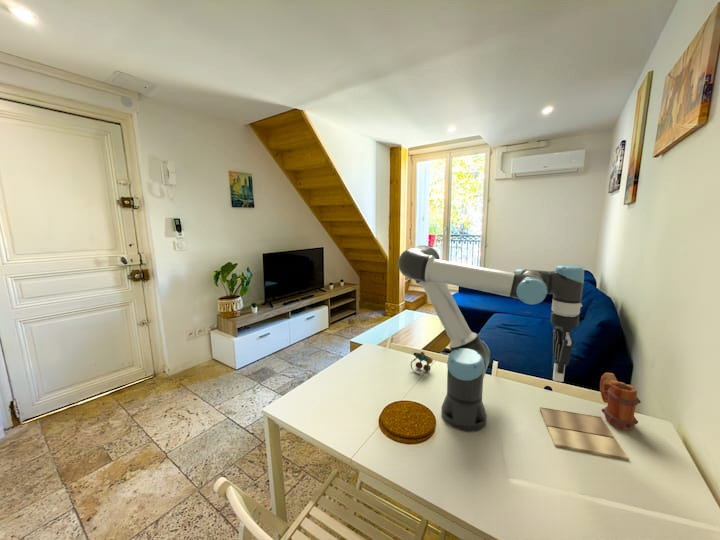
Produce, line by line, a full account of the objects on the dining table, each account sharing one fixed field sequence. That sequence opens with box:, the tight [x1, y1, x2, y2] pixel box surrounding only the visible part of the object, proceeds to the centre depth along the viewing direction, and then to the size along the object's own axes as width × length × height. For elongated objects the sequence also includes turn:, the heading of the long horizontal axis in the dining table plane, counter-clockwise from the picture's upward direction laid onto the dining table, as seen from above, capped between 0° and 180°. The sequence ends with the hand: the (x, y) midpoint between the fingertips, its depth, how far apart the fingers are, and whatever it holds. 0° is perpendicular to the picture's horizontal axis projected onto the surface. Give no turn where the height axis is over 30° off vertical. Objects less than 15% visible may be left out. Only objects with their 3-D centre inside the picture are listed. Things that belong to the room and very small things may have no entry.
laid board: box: [546, 426, 630, 461], centre depth 89 cm, size 18×8×2 cm, turn 71°
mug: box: [599, 372, 641, 431], centre depth 99 cm, size 15×8×15 cm, turn 168°
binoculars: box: [410, 351, 434, 375], centre depth 134 cm, size 9×9×10 cm
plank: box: [539, 406, 615, 438], centre depth 97 cm, size 18×9×2 cm, turn 71°
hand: (557, 380), depth 98 cm, fingers closed
